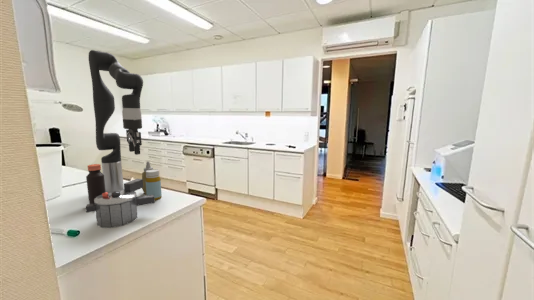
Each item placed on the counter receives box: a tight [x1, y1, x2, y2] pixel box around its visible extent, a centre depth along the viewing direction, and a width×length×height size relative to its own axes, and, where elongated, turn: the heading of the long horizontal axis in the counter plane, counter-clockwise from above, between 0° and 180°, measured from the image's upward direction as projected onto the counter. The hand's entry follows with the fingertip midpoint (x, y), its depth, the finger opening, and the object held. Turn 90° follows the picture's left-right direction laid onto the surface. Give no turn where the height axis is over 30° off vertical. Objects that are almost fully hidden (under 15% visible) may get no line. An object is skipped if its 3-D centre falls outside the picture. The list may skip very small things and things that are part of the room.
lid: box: [94, 178, 143, 206], centre depth 98 cm, size 21×15×5 cm
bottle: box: [146, 168, 162, 201], centre depth 120 cm, size 7×7×15 cm
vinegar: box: [85, 163, 106, 204], centre depth 110 cm, size 7×7×20 cm
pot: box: [85, 194, 156, 229], centre depth 97 cm, size 24×14×9 cm, turn 119°
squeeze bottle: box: [141, 161, 154, 195], centre depth 128 cm, size 8×8×18 cm
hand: (134, 152), depth 108 cm, fingers open, 8 cm apart
